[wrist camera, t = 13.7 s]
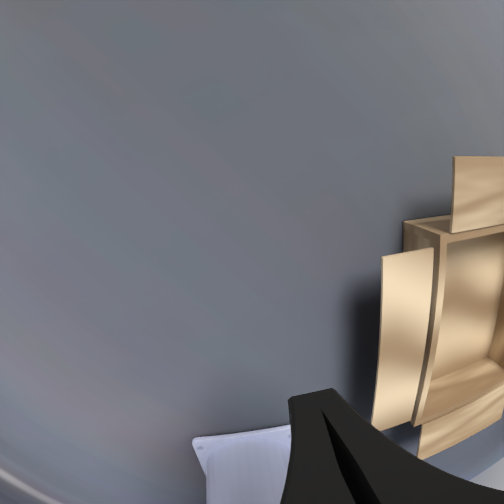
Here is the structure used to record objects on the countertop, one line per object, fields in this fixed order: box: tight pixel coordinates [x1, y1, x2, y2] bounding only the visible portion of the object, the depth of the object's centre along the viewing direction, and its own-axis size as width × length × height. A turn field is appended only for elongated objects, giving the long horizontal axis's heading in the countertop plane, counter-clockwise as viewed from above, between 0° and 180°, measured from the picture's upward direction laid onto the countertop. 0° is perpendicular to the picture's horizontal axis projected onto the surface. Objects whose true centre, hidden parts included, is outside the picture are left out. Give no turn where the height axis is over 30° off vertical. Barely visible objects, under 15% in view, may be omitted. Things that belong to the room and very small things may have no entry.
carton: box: [371, 215, 504, 431], centre depth 19 cm, size 14×18×4 cm
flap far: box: [416, 384, 504, 460], centre depth 19 cm, size 1×10×4 cm
